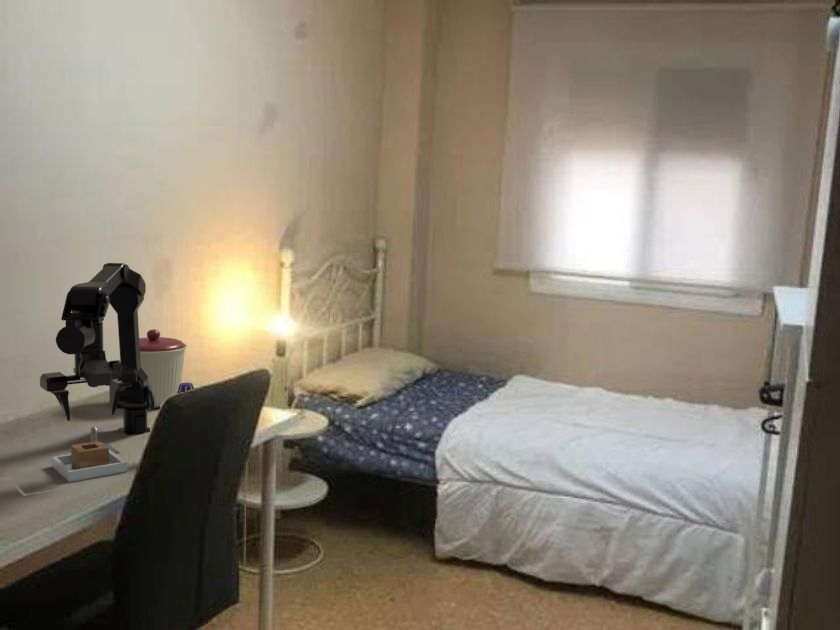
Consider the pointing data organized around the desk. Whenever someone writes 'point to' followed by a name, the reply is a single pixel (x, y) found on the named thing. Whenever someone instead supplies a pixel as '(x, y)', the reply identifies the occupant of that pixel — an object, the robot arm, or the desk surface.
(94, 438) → the grey peg stand
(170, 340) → the canister
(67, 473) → the tray
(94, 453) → the wooden block with hole
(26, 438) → the desk surface
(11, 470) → the desk surface
